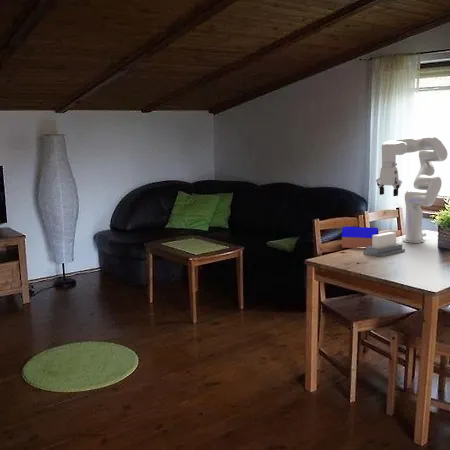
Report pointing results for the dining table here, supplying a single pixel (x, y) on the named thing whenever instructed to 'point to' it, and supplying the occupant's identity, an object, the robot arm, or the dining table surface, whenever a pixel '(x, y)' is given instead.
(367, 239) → the blue shipping container
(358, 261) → the dining table surface
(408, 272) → the dining table surface
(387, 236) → the white block
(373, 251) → the grey holder tray
